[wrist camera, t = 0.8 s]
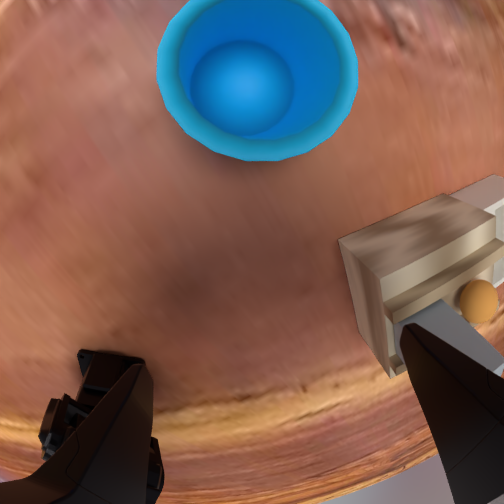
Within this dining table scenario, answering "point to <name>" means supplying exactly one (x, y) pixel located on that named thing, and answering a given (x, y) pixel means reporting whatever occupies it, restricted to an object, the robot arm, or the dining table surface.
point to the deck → (416, 266)
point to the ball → (478, 301)
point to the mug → (257, 75)
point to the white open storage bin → (488, 210)
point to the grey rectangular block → (453, 334)
